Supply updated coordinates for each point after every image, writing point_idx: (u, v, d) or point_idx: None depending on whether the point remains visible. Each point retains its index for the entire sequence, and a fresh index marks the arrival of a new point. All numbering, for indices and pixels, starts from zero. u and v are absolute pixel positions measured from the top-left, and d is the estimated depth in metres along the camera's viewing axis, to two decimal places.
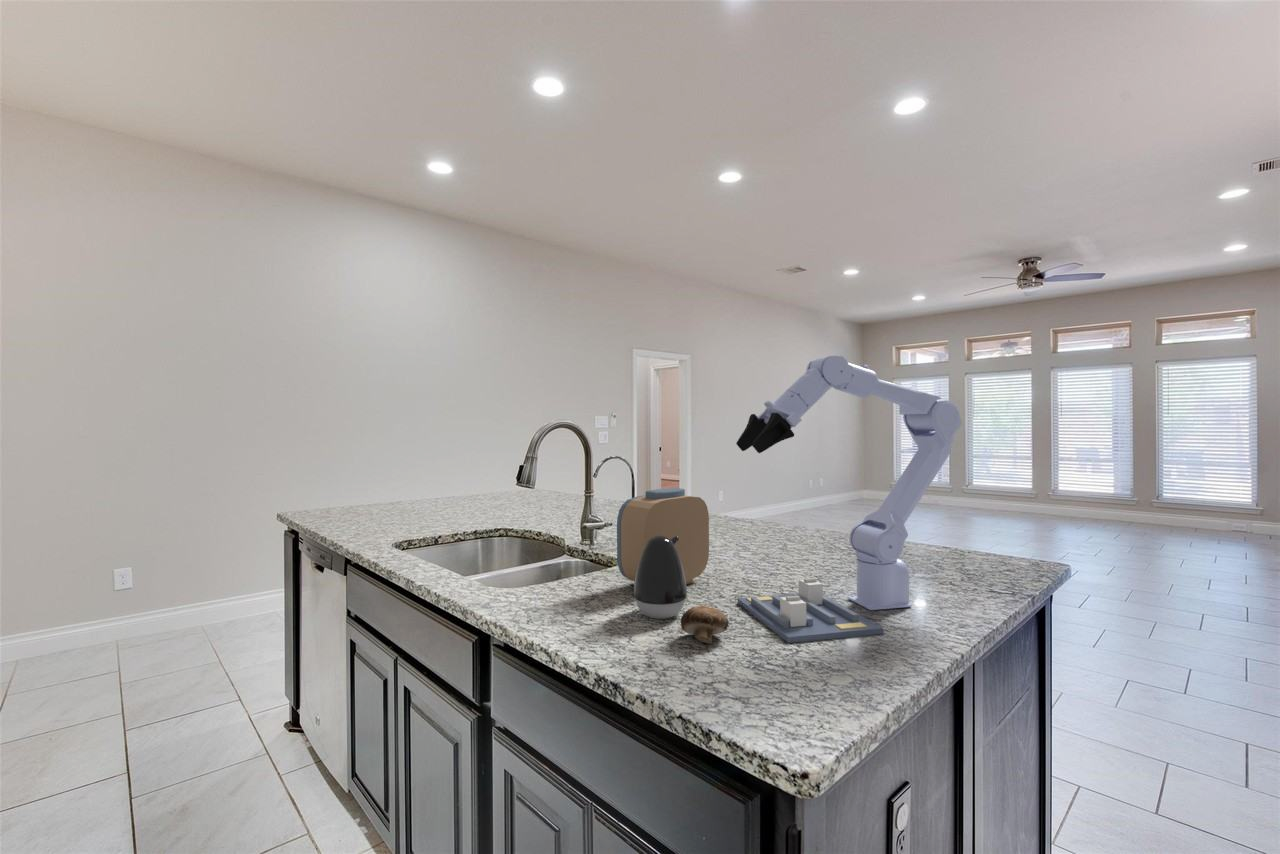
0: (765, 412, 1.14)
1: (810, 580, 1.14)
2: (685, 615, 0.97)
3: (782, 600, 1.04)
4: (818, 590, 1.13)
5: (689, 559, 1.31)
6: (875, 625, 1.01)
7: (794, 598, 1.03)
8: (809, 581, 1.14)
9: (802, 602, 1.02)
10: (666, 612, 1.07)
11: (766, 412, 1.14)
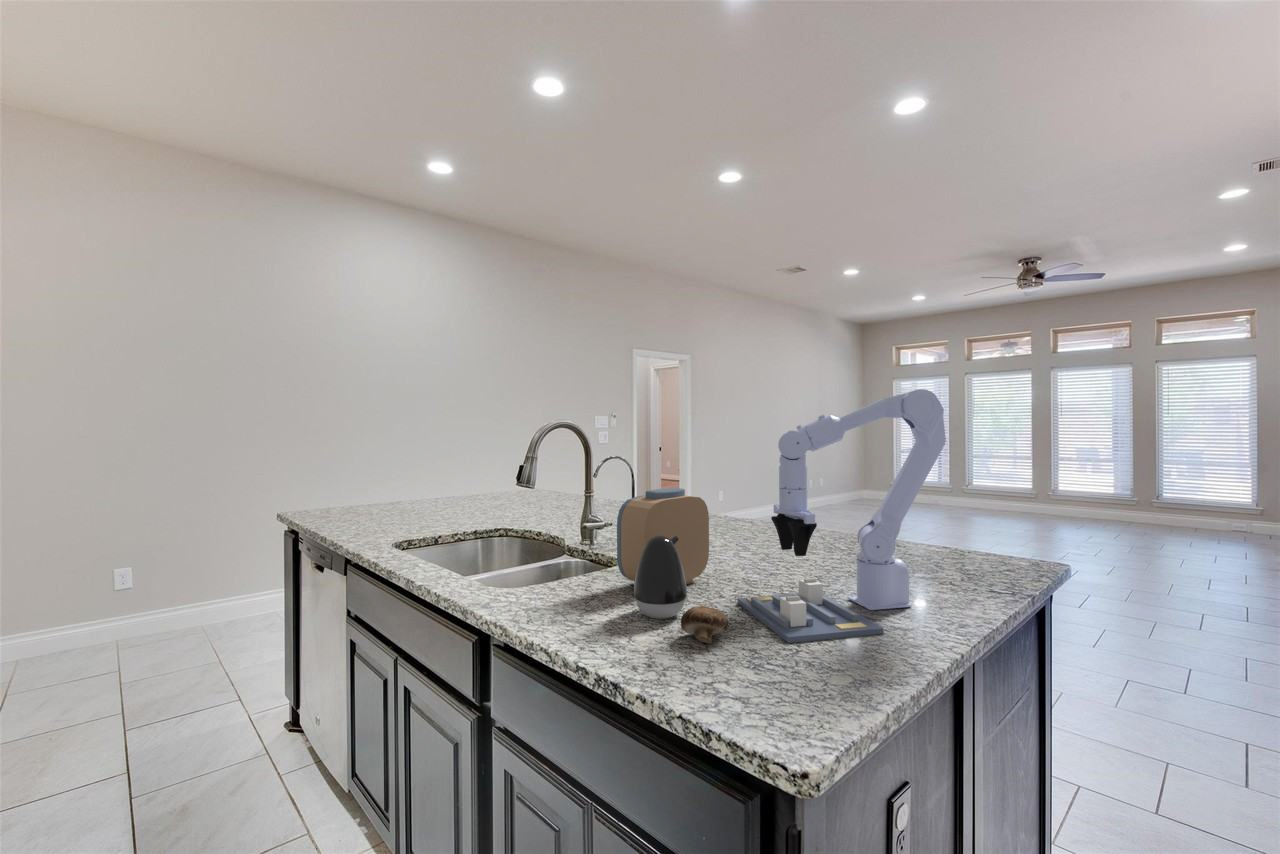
0: None
1: (810, 580, 1.14)
2: (685, 614, 0.97)
3: (782, 600, 1.04)
4: (818, 590, 1.13)
5: (689, 559, 1.31)
6: (875, 625, 1.01)
7: (794, 598, 1.03)
8: (809, 581, 1.14)
9: (802, 602, 1.02)
10: (666, 612, 1.07)
11: None
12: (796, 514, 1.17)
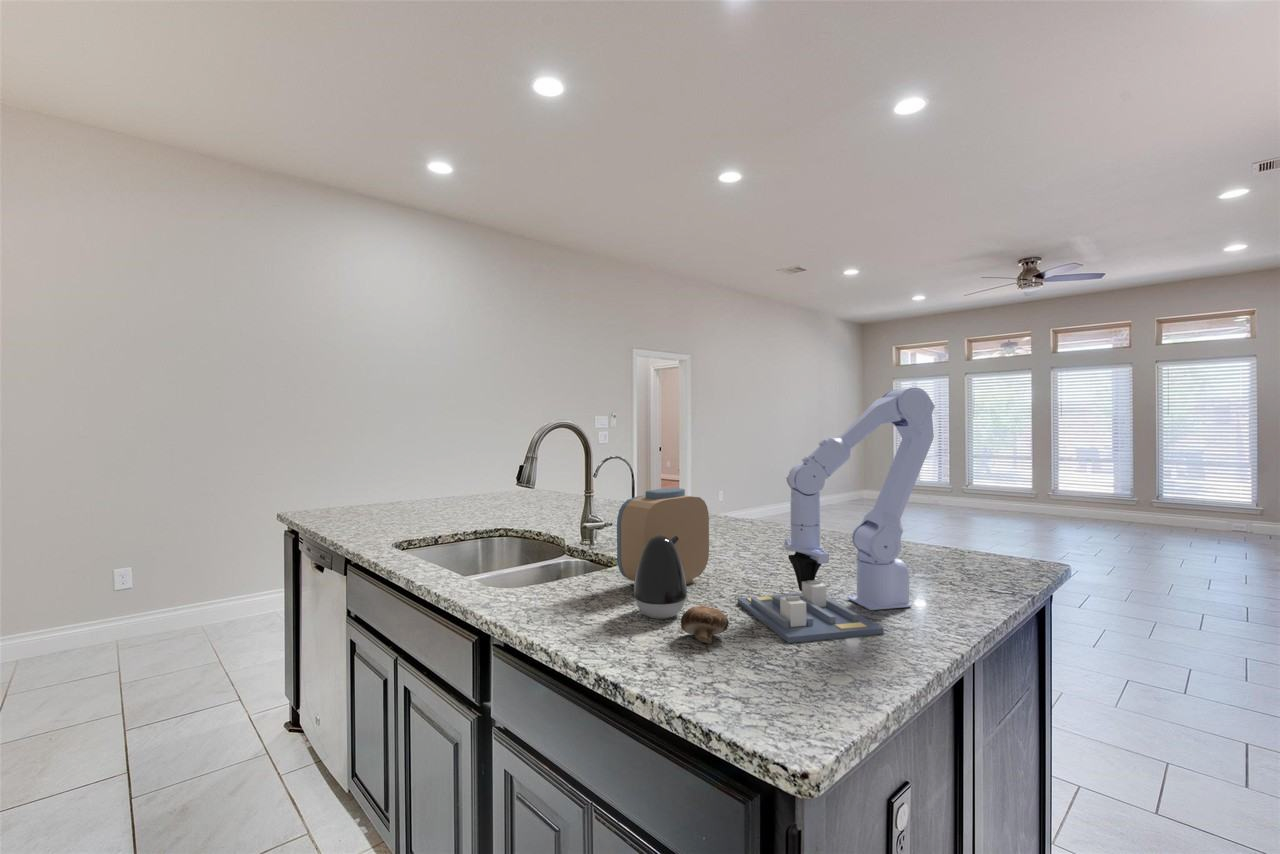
0: None
1: (814, 582, 1.13)
2: (685, 614, 0.97)
3: (782, 600, 1.04)
4: (822, 592, 1.11)
5: (689, 559, 1.31)
6: (875, 625, 1.01)
7: (794, 598, 1.03)
8: (813, 583, 1.13)
9: (802, 602, 1.02)
10: (666, 612, 1.07)
11: None
12: (809, 553, 1.12)
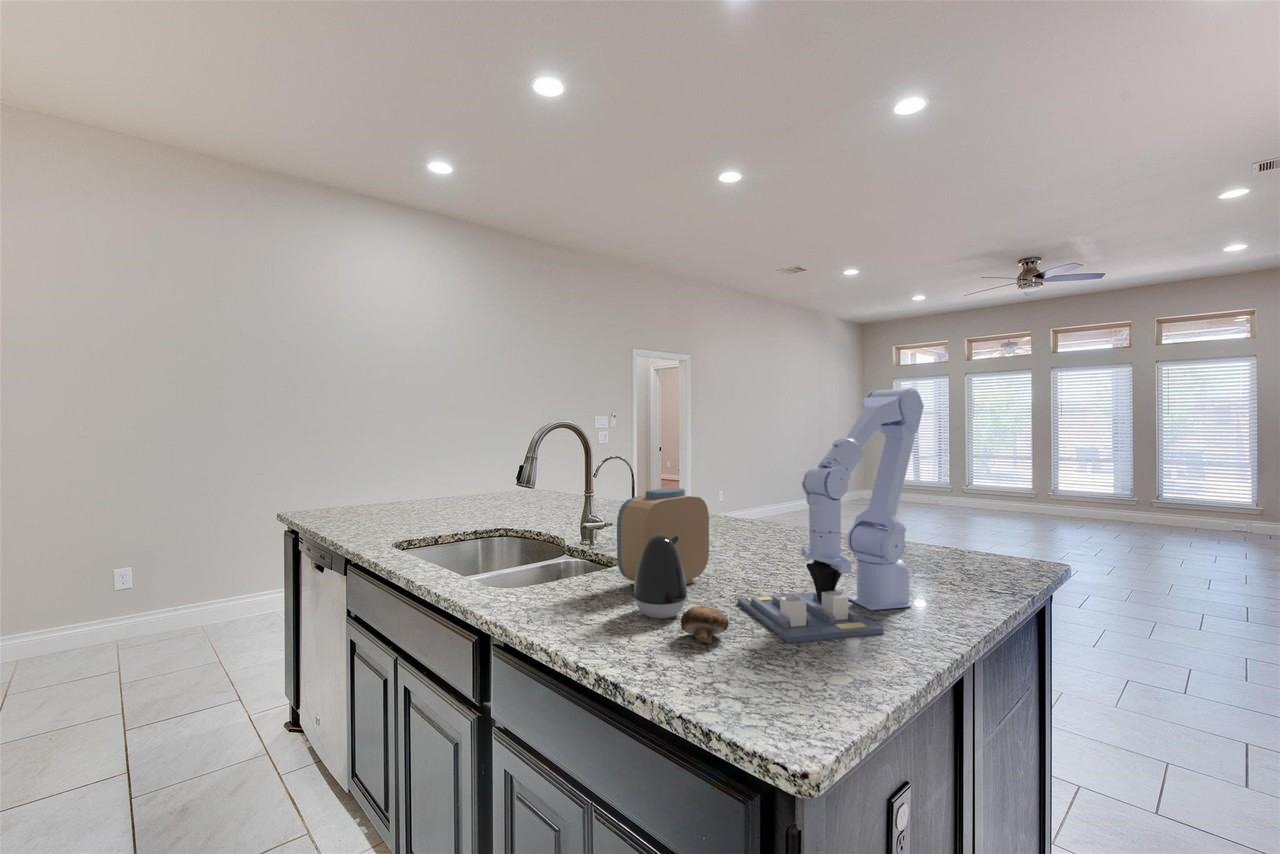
0: None
1: (835, 593, 1.06)
2: (685, 615, 0.97)
3: (782, 600, 1.04)
4: (843, 604, 1.04)
5: (689, 559, 1.31)
6: (875, 625, 1.01)
7: (794, 598, 1.03)
8: (833, 594, 1.06)
9: (802, 602, 1.02)
10: (666, 612, 1.07)
11: None
12: (829, 561, 1.05)
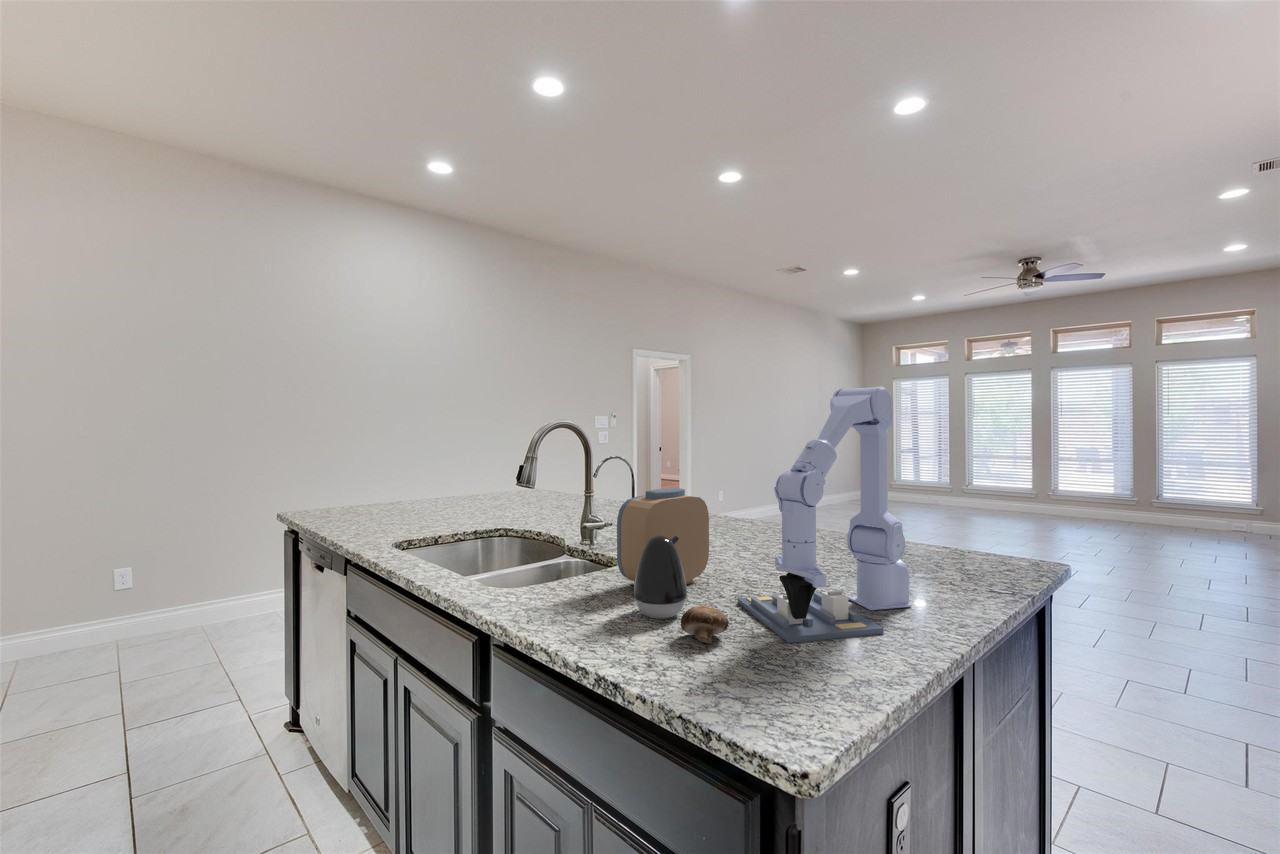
0: None
1: (835, 593, 1.06)
2: (685, 615, 0.97)
3: (779, 598, 1.05)
4: (844, 604, 1.04)
5: (689, 559, 1.31)
6: (875, 625, 1.01)
7: None
8: (833, 594, 1.06)
9: None
10: (666, 612, 1.07)
11: None
12: (803, 574, 0.96)
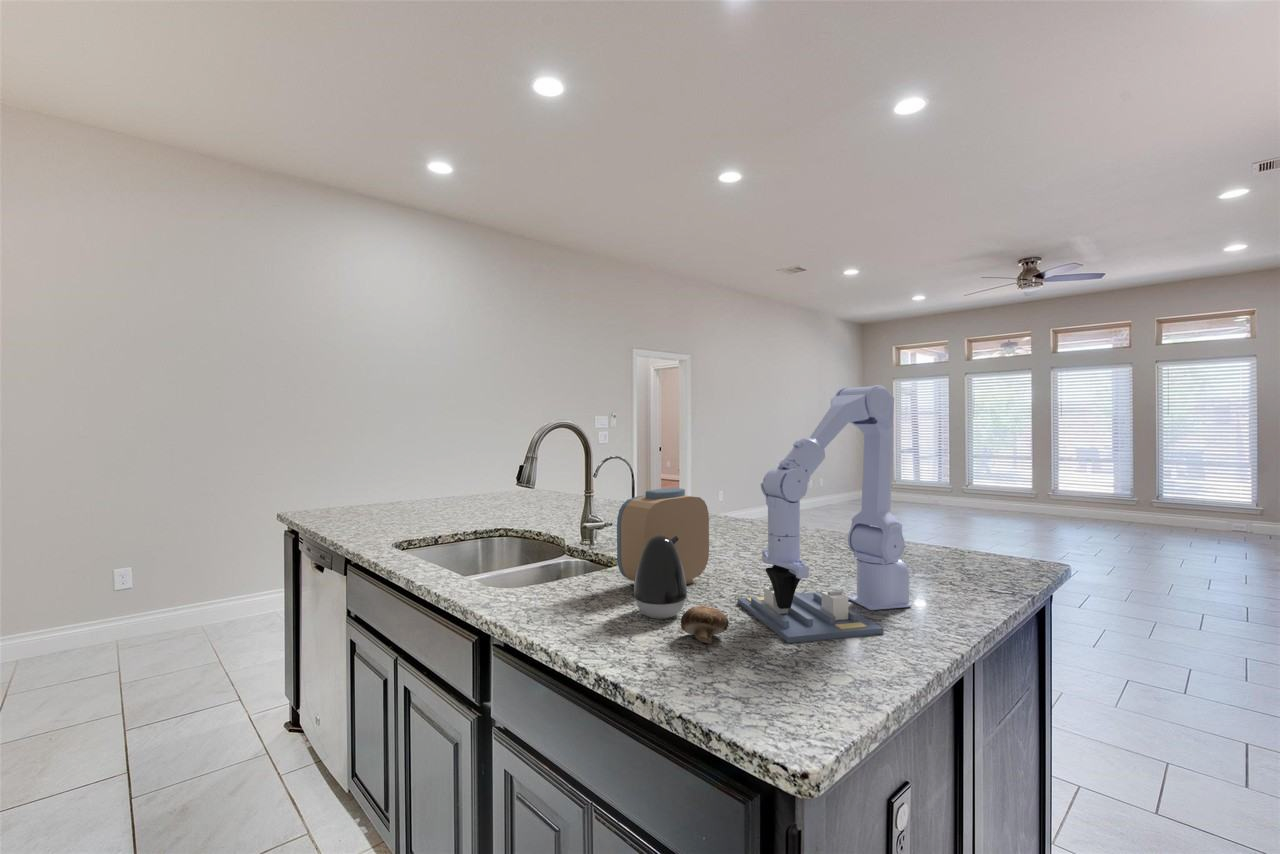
0: None
1: (835, 593, 1.06)
2: (685, 615, 0.97)
3: (766, 589, 1.10)
4: (844, 604, 1.04)
5: (689, 559, 1.31)
6: (875, 625, 1.01)
7: None
8: (833, 594, 1.06)
9: None
10: (666, 612, 1.07)
11: None
12: (787, 566, 1.01)
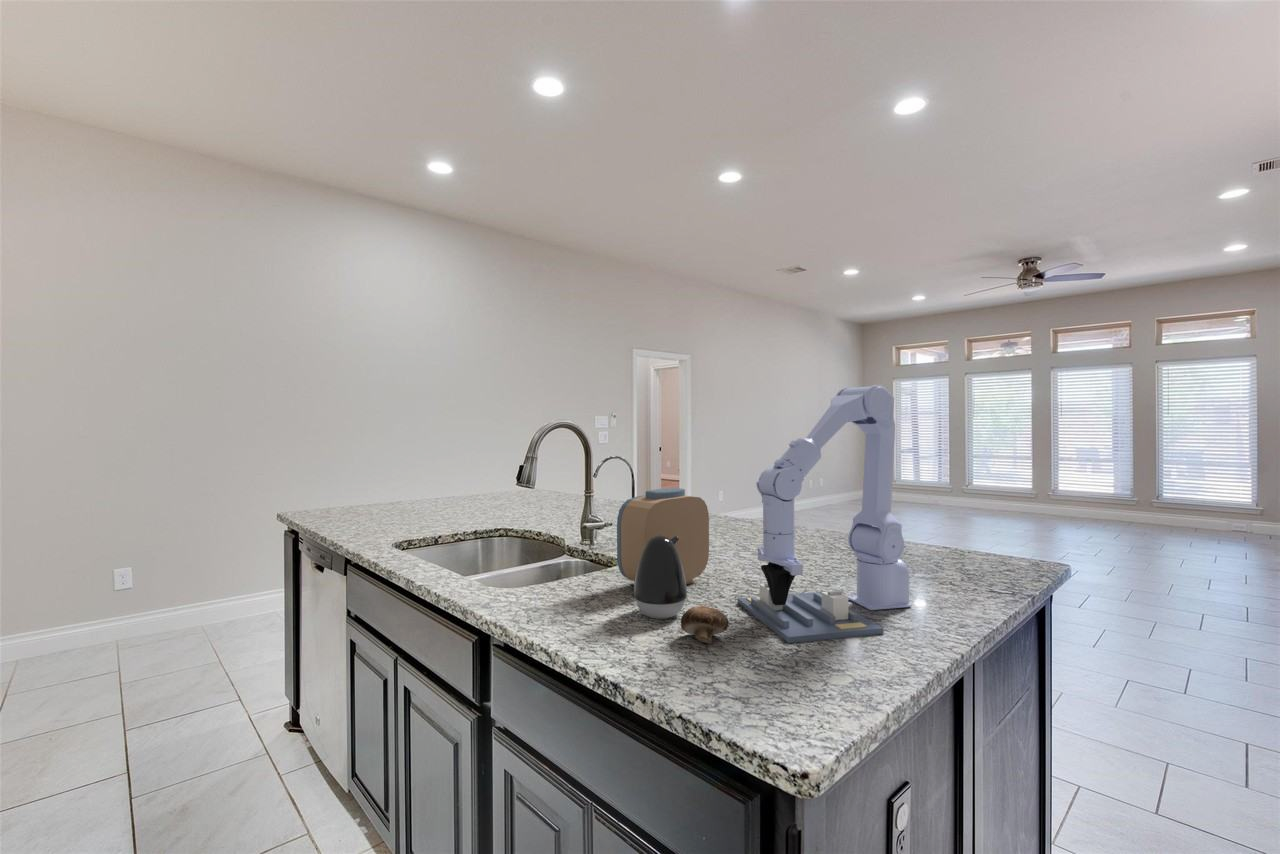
0: None
1: (835, 593, 1.06)
2: (685, 615, 0.97)
3: (761, 586, 1.12)
4: (844, 604, 1.04)
5: (689, 559, 1.31)
6: (875, 625, 1.01)
7: None
8: (833, 594, 1.06)
9: None
10: (666, 612, 1.07)
11: None
12: (781, 563, 1.03)
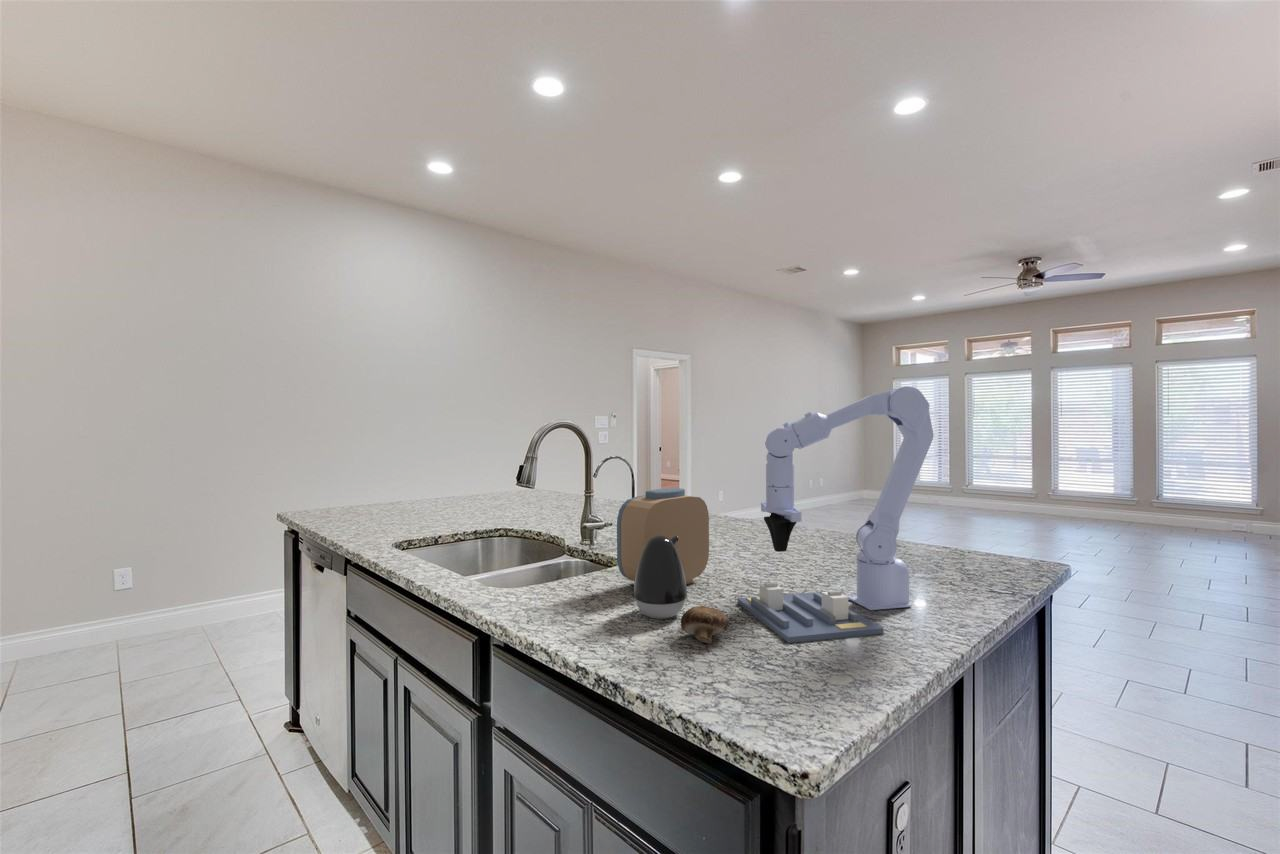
0: None
1: (835, 593, 1.06)
2: (685, 615, 0.97)
3: (761, 586, 1.12)
4: (844, 604, 1.04)
5: (689, 559, 1.31)
6: (875, 625, 1.01)
7: (772, 584, 1.11)
8: (833, 594, 1.06)
9: (779, 588, 1.10)
10: (666, 612, 1.07)
11: None
12: (782, 512, 1.16)
